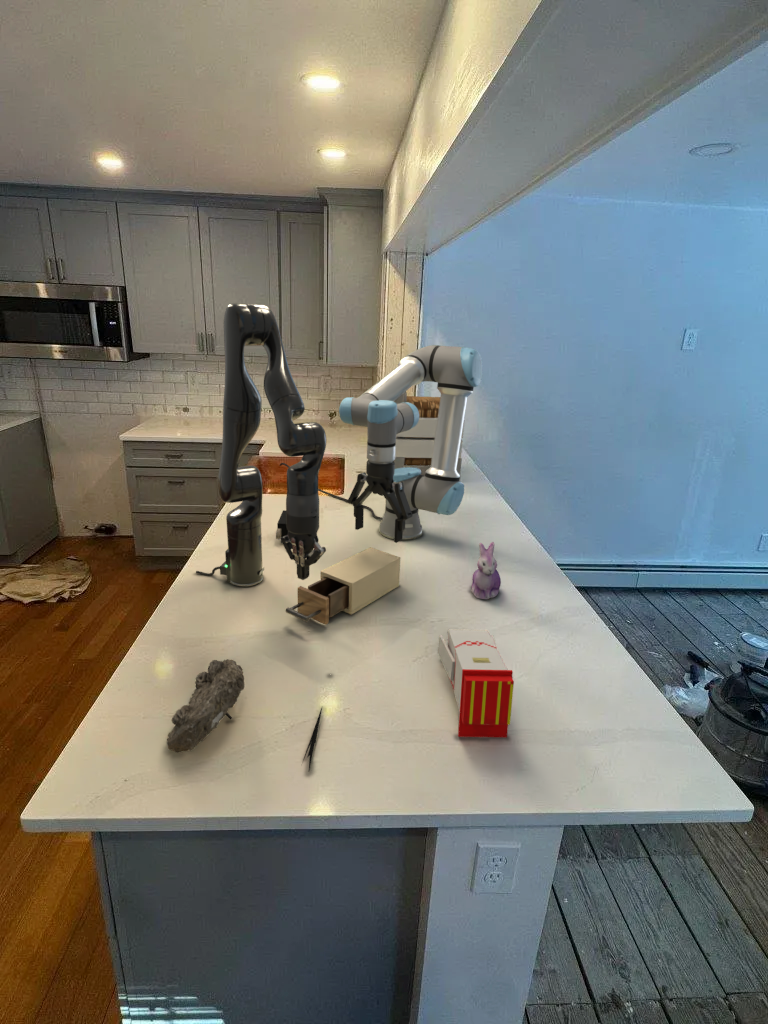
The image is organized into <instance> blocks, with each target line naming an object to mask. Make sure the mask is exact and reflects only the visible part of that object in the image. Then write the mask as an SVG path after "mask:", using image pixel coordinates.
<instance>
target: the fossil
mask: <svg viewBox="0 0 768 1024" xmlns="http://www.w3.org/2000/svg"><path fill="white" fill-rule="evenodd" d="M243 670H244V669H243V667H242V665H240V664H237V662H236V661H235V660H234V659H232V658H231V659H227V658H226V659H224V660H223V661H222V660H217V659H212V660H211V661H210V663H209V665H208V666H207V671H201V672H199V673H198V674H197V675H196V676H195V680H194V684H195V685H194V687H195V689H194V690H193V693H192V694H191V697H190V698H189V700H188V704H184V705H182V706H181V707H180V709H177V710H176V711H175V713H174V715H173V716H172V718H171V723H172V724H173V727H172V730H171V731H170V732H168V734H167V738H166V741H167V742H166V745H167V749H168V750H169V751H173V752H174V753H176V754H178V753H182V752H188V751H189V752H192V751H193V750H195V748H196V747H197V746H199V744H200V743H201V742H203V741H204V740H205V739H206V738H207V737H208V736H209V735H210V734H211V733H212V732H214V730H215V729H217V727H218V726H219V724H220V722H221V721H222V720H223V719H224V718H225V716H226V717H227V719H229V720H233V717H232V715H230V714H229V710H230V709H231V708H234V706H235V704H236V703H237V702H238V699H239V697H240V695H241V693H242V691H243V690H245V689H244V688H245V675H244V671H243Z"/></svg>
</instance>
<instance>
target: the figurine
mask: <svg viewBox="0 0 768 1024" xmlns="http://www.w3.org/2000/svg"><path fill="white" fill-rule="evenodd" d="M478 550H479V558H478V560H477V563H476V566H477V569H476V570H475V571H473V574H472V577H471V587H470V588H471V589H470V590H471V593H472V594H473V595H474V597H475V598H477V599H481V600H489V599H490V598H492V599H493V598H495V597H497V596H498V594H499V592H500V588H501V586H502V585H501V584H502V580H501V575H500V573H499V570H498V569H497V568H498V562H497V560H496V557H495V555H494V551H495V542H494V541H491V542H490V543H489V545H488V546H487V548H486V547H485V545H484V544H483V543H482V542H479V544H478Z"/></svg>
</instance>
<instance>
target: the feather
mask: <svg viewBox="0 0 768 1024" xmlns="http://www.w3.org/2000/svg"><path fill="white" fill-rule="evenodd" d="M329 675H330V676H331V675H332V674H331V673H330V674H329ZM322 710H323V707H321V708H320V710H319V713H318V716H317V719H316V723H315V725H314V728H313V731H312V733H311V737H310V739H309V742H308V745H307V748H306V751H305V754H304V757H303V760H302V763H301V767H302V765H303V763H304V761H305V758H308V759H309V760H308V762H307V763H308V764H307V766H308V771H310V770H311V766H312V765H311V764H312V760H313V757H315V756H314V755H315V751H316V749H315V746H317V739H318V733H319V729H320V722H321V717H322V712H323V711H322ZM313 754H314V755H313ZM306 755H307V757H306Z"/></svg>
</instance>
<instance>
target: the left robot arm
mask: <svg viewBox="0 0 768 1024" xmlns="http://www.w3.org/2000/svg"><path fill="white" fill-rule="evenodd" d="M223 345H224V347H223V348H224V349H223V350H224V389H223V400H222V401H223V404H222V442H221V452H220V459H219V468H218V476H217V487H218V489H217V490H218V494H219V497H220V498H221V500H222V501H223V502H224V503H226V504H227V503H228V504H229V503H230V504H233V503H240V502H241V503H240V504H239V505H238V506H237V507H234V508H233V509H232V510H230V511H229V512H228V513H227V514H226V518H225V519H226V520H225V521H226V536H227V549H226V550H225V551H224V555H225V561H224V562H223V563H221V565H219V566H216V567H213V569H212V570H211V572H210V573H209V572H208V573H207V572H203V571H199V570H196V571H195V574H198V575H201V576H206V577H211V576H214V575H215V572H216V571H217V570H219V574H220V576H226V582H227V583H230V584H232V585H233V586H235V587H242V588H243V587H244V588H245V587H253V586H256V585H259V584H260V583H262V582H263V580H264V571H265V566H263V543H262V539H263V537H262V516H263V493H264V491H263V488H264V487H263V478H262V474H261V471H260V470H259V468H258V467H257V466H255V465H251V464H250V465H242V466H239V463H240V459H241V457H242V455H243V453H244V451H245V449H246V448H247V446H248V445H249V444H250V442H251V441H252V440H253V439H254V437H255V435H256V433H258V430H259V428H260V426H261V419H262V407H263V406H262V401H263V400H262V397H261V393H260V391H259V389H258V387H257V386H256V384H255V381H254V380H253V378H252V377H251V374H250V373H249V371H248V368H247V367H246V361H245V346H246V347H247V346H255V347H257V346H262V347H263V349H264V350H265V352H266V355H267V364H266V368H265V372H264V377H263V390H264V394H265V396H266V399H267V401H268V404H269V406H270V408H271V410H272V413H273V417H274V421H275V430H276V439H277V440H276V441H277V445H278V448H279V450H280V451H281V452H282V453H283V454H284V455H285V456H287V457H290V458H297V457H301V459H300V460H299V461H298V462H296V463H294V464H292V465H290V467H289V468H288V467H287V469H286V499H285V511H286V528H287V530H288V535H286V536H284V537H281V539H280V542H281V541H282V543H281V544H282V545H283V547H284V549H285V551H286V553H287V555H288V558H289V559H290V560H291V561H294V563H295V564H296V576H297V579H299V580H301V581H305V580H306V579H309V577H310V567H311V566H312V565H315V564H316V563H317V562H318V561H319V560H320V559H321V558H322V556H323V555H324V554H325V553H326V552H327V548H326V547H325V546H321V544H320V543H319V537H318V532H319V529H320V495H319V491H318V489H319V474H320V470H321V465H322V463H323V458H324V455H325V451H326V447H327V435H326V434H327V433H326V431H325V429H324V427H323V425H322V424H320V423H319V422H317V421H306V422H299V423H294V421H296V420H298V419H299V418H300V417H302V416H303V415H304V413H305V408H306V407H305V403H304V401H303V399H302V397H301V394H300V391H299V390H298V387H297V385H296V383H295V381H294V378H293V376H292V373H291V370H290V367H289V363H288V360H287V355H286V351H285V347H284V343H283V339H282V337H281V333H280V329H279V326H278V322H277V319H276V317H275V313H274V312H273V311H272V309H271V308H270V307H269V306H268V305H266V304H262V303H261V304H260V303H238V302H237V303H234V302H233V303H230V304H228V305H227V307H226V308H225V311H224V315H223Z"/></svg>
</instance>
